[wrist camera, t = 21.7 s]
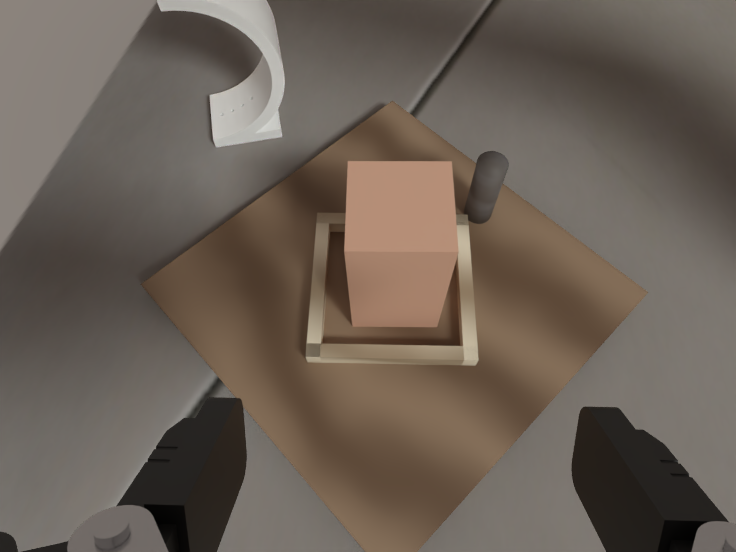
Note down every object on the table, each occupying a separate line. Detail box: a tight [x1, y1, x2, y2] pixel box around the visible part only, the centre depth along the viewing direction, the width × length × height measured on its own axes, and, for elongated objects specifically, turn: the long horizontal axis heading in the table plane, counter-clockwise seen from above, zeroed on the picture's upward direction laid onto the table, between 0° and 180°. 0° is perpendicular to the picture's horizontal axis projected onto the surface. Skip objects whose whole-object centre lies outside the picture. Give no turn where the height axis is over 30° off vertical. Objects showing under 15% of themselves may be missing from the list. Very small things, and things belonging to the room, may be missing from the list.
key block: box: [344, 161, 459, 327], centre depth 28 cm, size 5×5×9 cm
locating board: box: [141, 101, 648, 552], centre depth 30 cm, size 22×22×6 cm
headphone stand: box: [157, 0, 285, 147], centre depth 35 cm, size 5×6×12 cm
